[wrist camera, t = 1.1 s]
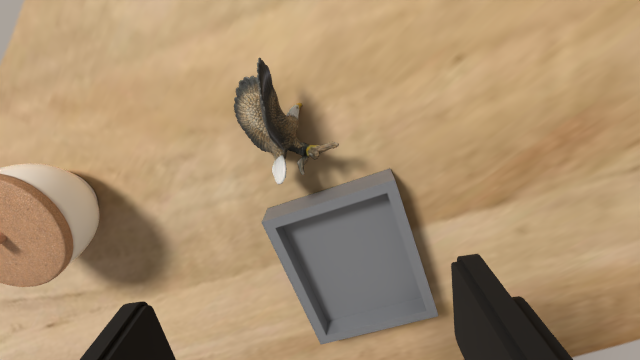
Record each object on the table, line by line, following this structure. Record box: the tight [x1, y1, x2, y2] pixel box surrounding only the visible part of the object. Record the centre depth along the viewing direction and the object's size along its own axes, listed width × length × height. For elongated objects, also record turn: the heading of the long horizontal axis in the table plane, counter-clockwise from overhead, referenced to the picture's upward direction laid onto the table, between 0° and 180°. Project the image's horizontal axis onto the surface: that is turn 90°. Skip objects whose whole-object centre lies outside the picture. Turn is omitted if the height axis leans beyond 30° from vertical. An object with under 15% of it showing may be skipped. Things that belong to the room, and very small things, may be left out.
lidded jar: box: [0, 163, 99, 287], centre depth 32 cm, size 11×11×9 cm
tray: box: [262, 169, 438, 344], centre depth 35 cm, size 13×16×3 cm
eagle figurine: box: [234, 58, 339, 184], centre depth 29 cm, size 8×7×9 cm
